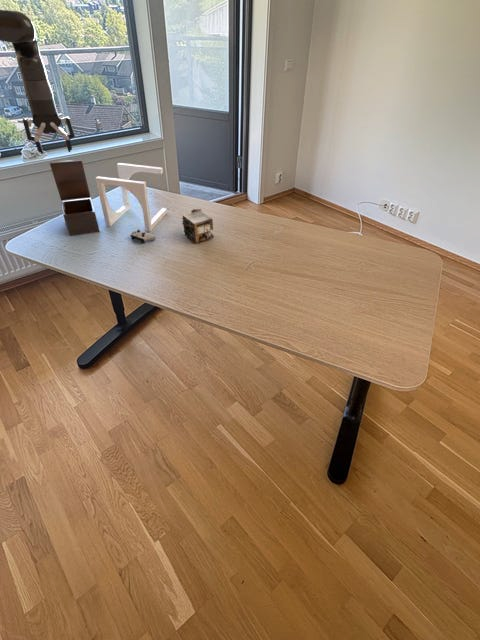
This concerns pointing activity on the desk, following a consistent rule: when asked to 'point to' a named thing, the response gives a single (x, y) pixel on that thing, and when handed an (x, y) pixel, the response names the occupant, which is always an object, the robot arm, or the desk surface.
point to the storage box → (80, 216)
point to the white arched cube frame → (135, 188)
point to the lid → (70, 179)
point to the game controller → (142, 236)
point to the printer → (197, 225)
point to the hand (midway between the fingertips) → (56, 152)
